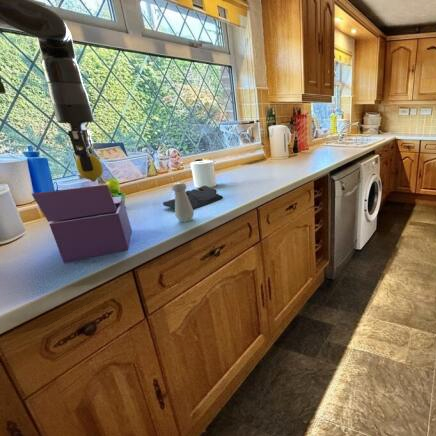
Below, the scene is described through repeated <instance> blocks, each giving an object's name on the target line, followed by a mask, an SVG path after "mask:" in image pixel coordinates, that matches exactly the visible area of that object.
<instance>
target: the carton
mask: <svg viewBox="0 0 436 436" xmlns="http://www.w3.org/2000/svg"><path fill="white" fill-rule="evenodd" d="M112 198H113V201H114V203H115V206H116V209H117V211H115V212H109V213H103V214H96V215H90V216H83V217H77V218H70V219H64V220H57V221H51V222H49V224H48V225H49V228H50V230H51V233H52V235H53V238H54V241H55V244H56V246H57V249H58V251H59V254H60V257H61V259H62V262H63V264H66V263H69V262H70V263H71V262H75V261H80V260H85V259H89V258H94V257H99V256H103V255H110V254H113V253H118V252H124V251H129V249H130V245H131V244H130V243H131V236H132V225H131V222H130V219H129V215H128V212H127V211H128V210H127V208H126V204H124V200H123V199H122V196H120V197H112Z"/></svg>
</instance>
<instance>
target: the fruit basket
mask: <svg viewBox="0 0 436 436" xmlns="http://www.w3.org/2000/svg"><path fill="white" fill-rule="evenodd" d="M104 185H108V188H109V190H110V193H111V195H112V197H120V196H122V199H123V200H124V204H125V203H126V193H125V192H124V193H123V192H120V191H121V187H120V182H119V181H118V180H117V177H115V178H113V177H110V178H109V179H108V181H107V182H106V183H105V184H104ZM125 205H126V204H125Z"/></svg>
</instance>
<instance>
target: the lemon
mask: <svg viewBox="0 0 436 436" xmlns="http://www.w3.org/2000/svg"><path fill="white" fill-rule="evenodd" d="M90 158H91V162H92V165H93V170H92V171H83V169H82V166H81V162H80V159H79V157H78V156H77V159H76V170H77V172H78V174H79V175H80V176H81V177H82V178H84V179H86V180H89V181H91V182H92V183H95V182H96V181H97V180H98V179H99V178H101V177H102V175H103V172H104V167H103V164H102V162H101V160H100V159H99V157H98V156H96V155H94V154H93V155H92V154H90Z"/></svg>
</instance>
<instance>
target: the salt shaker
mask: <svg viewBox="0 0 436 436" xmlns="http://www.w3.org/2000/svg"><path fill="white" fill-rule="evenodd" d="M171 190H172V191H173V192H174V199H175V208H174V216H175V218H176V219H177V220H178V222H180V223H189V222H191V221H192V220H193V218H194V214H195V211H194V209H192V206H191V204H190V201H189V199H188V196H187V194H186V190H187V185H186V183H185V182H175V183H172V184H171Z"/></svg>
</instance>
